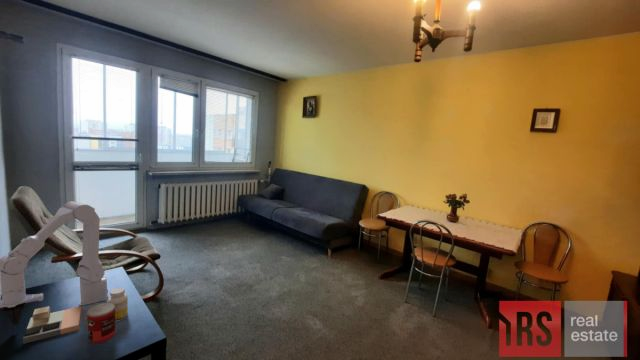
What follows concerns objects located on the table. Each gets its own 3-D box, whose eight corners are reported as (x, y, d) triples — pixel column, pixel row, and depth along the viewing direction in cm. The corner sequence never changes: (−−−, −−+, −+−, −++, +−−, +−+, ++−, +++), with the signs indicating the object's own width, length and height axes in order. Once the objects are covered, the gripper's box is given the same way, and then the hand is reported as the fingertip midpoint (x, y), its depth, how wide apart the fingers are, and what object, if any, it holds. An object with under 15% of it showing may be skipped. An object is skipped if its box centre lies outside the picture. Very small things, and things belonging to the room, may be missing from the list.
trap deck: (81, 310, 116) (81, 306, 116) (78, 329, 106) (78, 324, 106) (31, 322, 108) (31, 317, 108) (23, 343, 97) (22, 338, 97)
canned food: (92, 332, 105) (91, 304, 104) (118, 327, 108) (117, 301, 107) (84, 346, 98) (83, 316, 97) (112, 341, 101) (111, 312, 100)
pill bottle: (114, 312, 117) (113, 286, 115) (131, 312, 118) (130, 286, 116) (104, 322, 111) (103, 294, 109) (121, 322, 111) (121, 295, 110)
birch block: (50, 315, 109) (49, 306, 109) (48, 321, 106) (47, 311, 106) (35, 318, 107) (34, 309, 106) (33, 324, 104) (32, 314, 103)
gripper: (-22, 299, 93) (-18, 337, 95) (39, 288, 102) (42, 323, 104) (-15, 289, 99) (-12, 325, 100) (43, 279, 107) (45, 312, 109)
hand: (16, 323), depth 102 cm, fingers closed
